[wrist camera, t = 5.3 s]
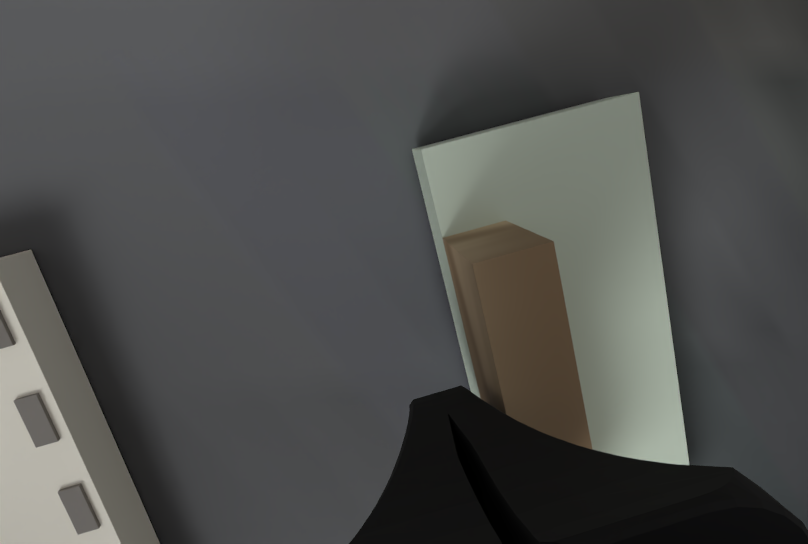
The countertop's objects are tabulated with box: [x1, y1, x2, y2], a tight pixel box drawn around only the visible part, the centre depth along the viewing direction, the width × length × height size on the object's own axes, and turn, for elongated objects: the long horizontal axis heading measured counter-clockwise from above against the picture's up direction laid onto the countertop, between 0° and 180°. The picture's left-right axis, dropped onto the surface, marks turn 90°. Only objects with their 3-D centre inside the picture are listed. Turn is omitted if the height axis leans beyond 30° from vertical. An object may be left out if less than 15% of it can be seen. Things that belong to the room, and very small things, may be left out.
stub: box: [412, 92, 689, 465], centre depth 13 cm, size 5×12×4 cm, turn 14°
